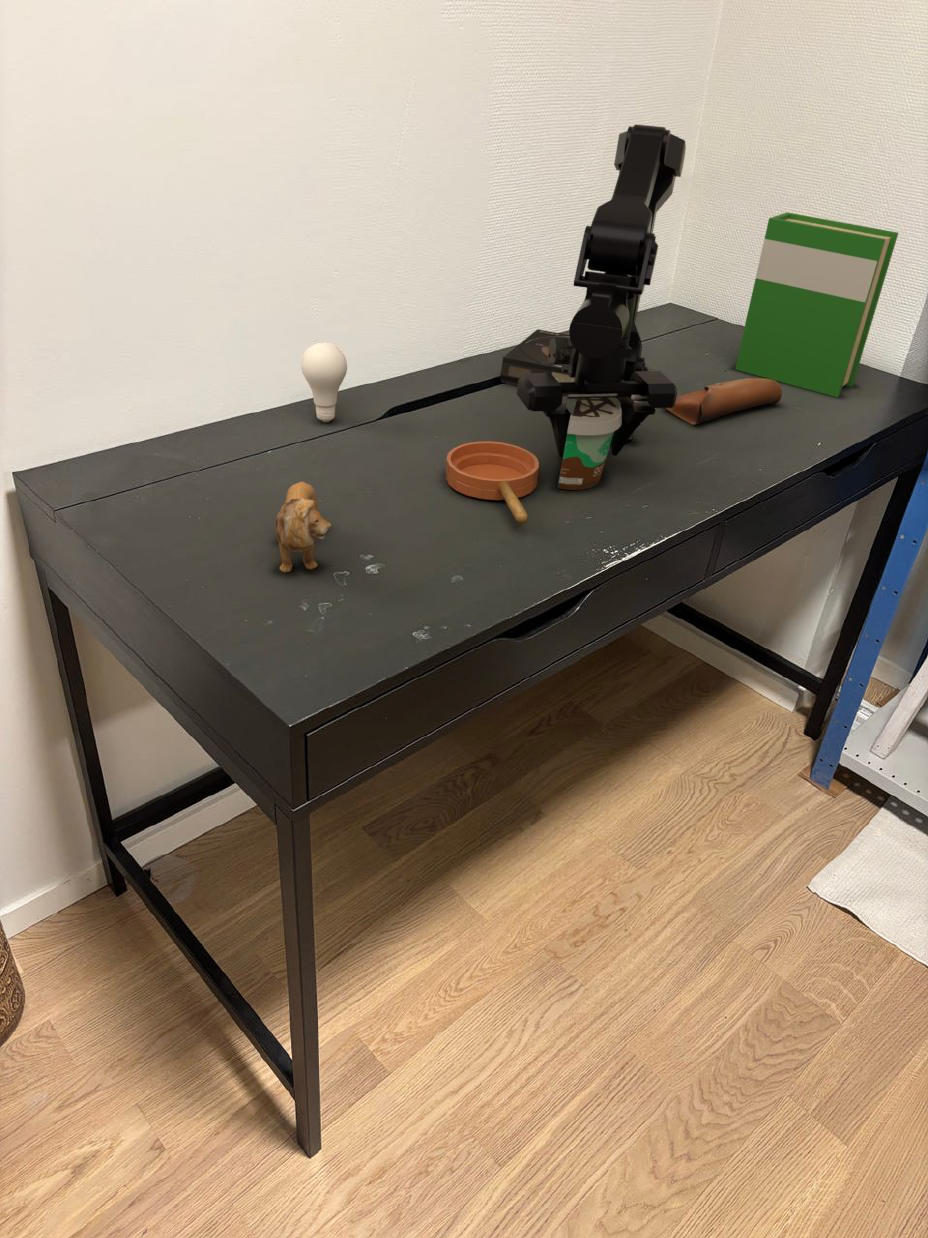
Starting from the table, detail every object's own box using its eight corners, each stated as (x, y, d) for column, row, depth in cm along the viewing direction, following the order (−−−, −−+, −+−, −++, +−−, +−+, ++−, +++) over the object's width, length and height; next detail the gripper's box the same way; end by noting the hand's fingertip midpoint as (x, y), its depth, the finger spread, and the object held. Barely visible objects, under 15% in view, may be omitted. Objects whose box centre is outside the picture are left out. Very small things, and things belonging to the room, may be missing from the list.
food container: (605, 502, 116) (621, 426, 110) (556, 493, 116) (569, 417, 111) (612, 461, 126) (628, 390, 120) (567, 453, 126) (580, 381, 121)
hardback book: (852, 385, 156) (898, 232, 143) (837, 397, 151) (883, 239, 138) (752, 359, 164) (787, 212, 151) (735, 369, 159) (769, 218, 146)
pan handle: (508, 489, 114) (508, 478, 113) (528, 525, 107) (529, 514, 106) (496, 489, 113) (497, 479, 113) (516, 525, 106) (517, 514, 105)
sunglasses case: (738, 385, 151) (763, 356, 146) (762, 419, 149) (789, 392, 144) (658, 405, 142) (682, 375, 137) (683, 442, 140) (708, 413, 135)
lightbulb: (355, 417, 133) (354, 340, 127) (336, 433, 128) (334, 353, 122) (315, 410, 134) (313, 333, 128) (295, 425, 130) (292, 346, 123)
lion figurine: (333, 587, 96) (331, 508, 91) (280, 590, 95) (275, 511, 90) (318, 518, 108) (316, 445, 103) (271, 521, 107) (266, 447, 102)
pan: (522, 460, 124) (524, 439, 123) (547, 500, 115) (550, 478, 113) (437, 464, 122) (438, 443, 120) (456, 505, 113) (457, 482, 111)
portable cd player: (499, 383, 148) (501, 358, 145) (535, 352, 161) (537, 329, 159) (600, 403, 143) (604, 378, 141) (628, 370, 156) (632, 346, 154)
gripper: (653, 312, 119) (633, 428, 128) (511, 312, 115) (500, 432, 124) (689, 340, 110) (665, 463, 119) (536, 341, 106) (523, 469, 115)
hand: (587, 455), depth 119 cm, fingers closed on food container, 7 cm apart
